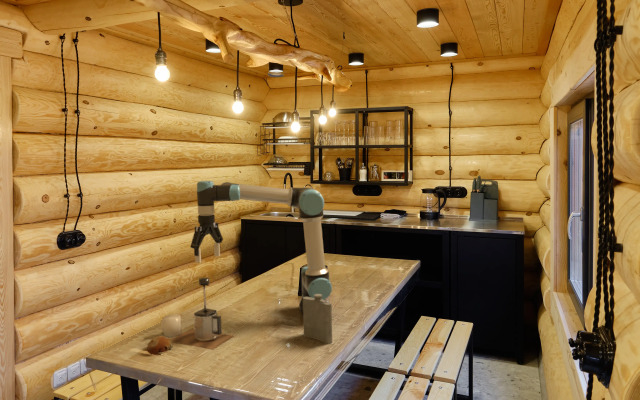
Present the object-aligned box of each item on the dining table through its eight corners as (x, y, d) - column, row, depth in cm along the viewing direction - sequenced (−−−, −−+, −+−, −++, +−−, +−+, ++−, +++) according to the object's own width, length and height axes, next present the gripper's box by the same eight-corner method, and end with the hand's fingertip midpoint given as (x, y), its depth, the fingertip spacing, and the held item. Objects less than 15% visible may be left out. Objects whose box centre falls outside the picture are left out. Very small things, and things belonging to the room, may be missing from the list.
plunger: (217, 315, 221) (215, 277, 219) (207, 321, 214) (205, 281, 212) (204, 313, 224) (202, 276, 222) (194, 319, 217) (192, 280, 215)
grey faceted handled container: (227, 335, 221) (226, 310, 220) (213, 343, 212) (212, 317, 211) (204, 331, 227) (203, 306, 225) (190, 339, 218) (189, 313, 216)
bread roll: (166, 352, 216) (160, 335, 217) (179, 347, 210) (173, 330, 211) (146, 361, 208) (140, 343, 209) (160, 356, 202) (154, 337, 203)
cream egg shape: (185, 334, 227) (184, 315, 226) (173, 341, 219) (172, 321, 218) (169, 331, 230) (168, 313, 229) (157, 337, 223) (156, 318, 222)
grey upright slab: (302, 335, 223) (301, 292, 221) (308, 332, 226) (307, 290, 224) (329, 344, 213) (328, 299, 211) (335, 341, 216) (334, 297, 214)
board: (234, 338, 221) (234, 335, 221) (212, 352, 207) (212, 349, 206) (192, 330, 231) (192, 328, 231) (168, 343, 217) (168, 340, 217)
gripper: (217, 210, 240) (218, 253, 243) (181, 217, 218) (183, 264, 221) (229, 211, 237) (230, 254, 239) (194, 218, 215) (196, 266, 217)
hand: (207, 259), depth 230 cm, fingers open, 13 cm apart
